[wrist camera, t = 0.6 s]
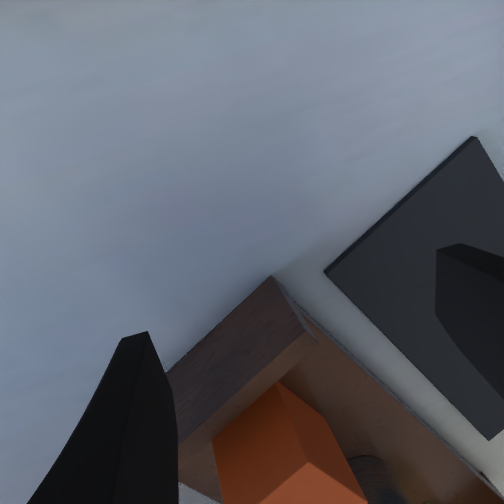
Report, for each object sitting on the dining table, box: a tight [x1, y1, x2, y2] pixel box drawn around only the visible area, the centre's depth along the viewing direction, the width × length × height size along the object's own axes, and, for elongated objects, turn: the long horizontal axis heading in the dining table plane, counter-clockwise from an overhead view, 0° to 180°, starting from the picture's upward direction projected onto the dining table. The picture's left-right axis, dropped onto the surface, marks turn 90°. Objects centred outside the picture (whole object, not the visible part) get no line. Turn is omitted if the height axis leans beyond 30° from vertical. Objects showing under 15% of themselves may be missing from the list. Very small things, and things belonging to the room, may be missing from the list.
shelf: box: [166, 276, 504, 504], centre depth 27 cm, size 11×26×5 cm, turn 42°
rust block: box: [211, 381, 368, 504], centre depth 21 cm, size 4×4×5 cm
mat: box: [324, 136, 504, 441], centre depth 27 cm, size 10×20×1 cm, turn 42°
